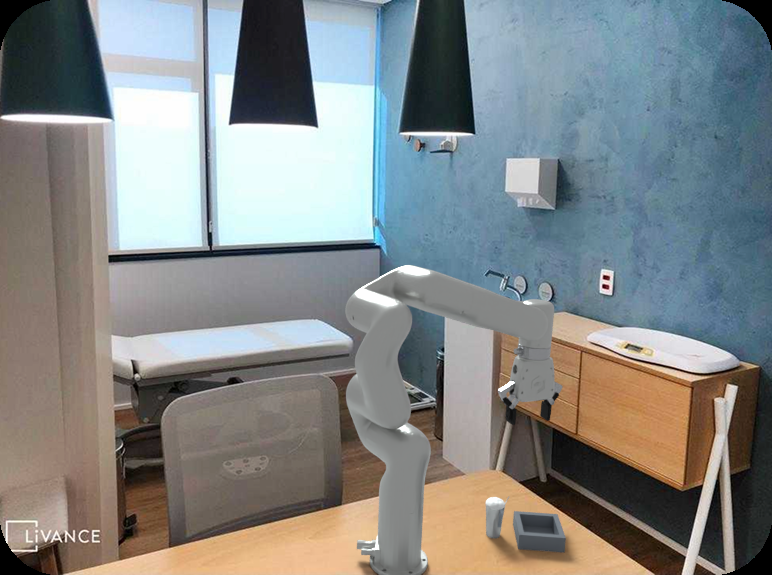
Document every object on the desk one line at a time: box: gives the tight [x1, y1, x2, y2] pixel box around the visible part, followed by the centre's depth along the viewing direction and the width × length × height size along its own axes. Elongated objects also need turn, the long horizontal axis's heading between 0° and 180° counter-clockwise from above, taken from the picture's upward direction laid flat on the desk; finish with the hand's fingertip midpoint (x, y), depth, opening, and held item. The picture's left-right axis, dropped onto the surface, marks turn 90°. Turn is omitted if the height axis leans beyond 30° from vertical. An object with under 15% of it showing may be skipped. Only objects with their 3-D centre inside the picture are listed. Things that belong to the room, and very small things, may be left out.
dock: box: [512, 510, 567, 554], centre depth 154 cm, size 10×10×4 cm
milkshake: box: [485, 496, 510, 539], centre depth 154 cm, size 4×5×10 cm
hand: (527, 420), depth 158 cm, fingers open, 9 cm apart
